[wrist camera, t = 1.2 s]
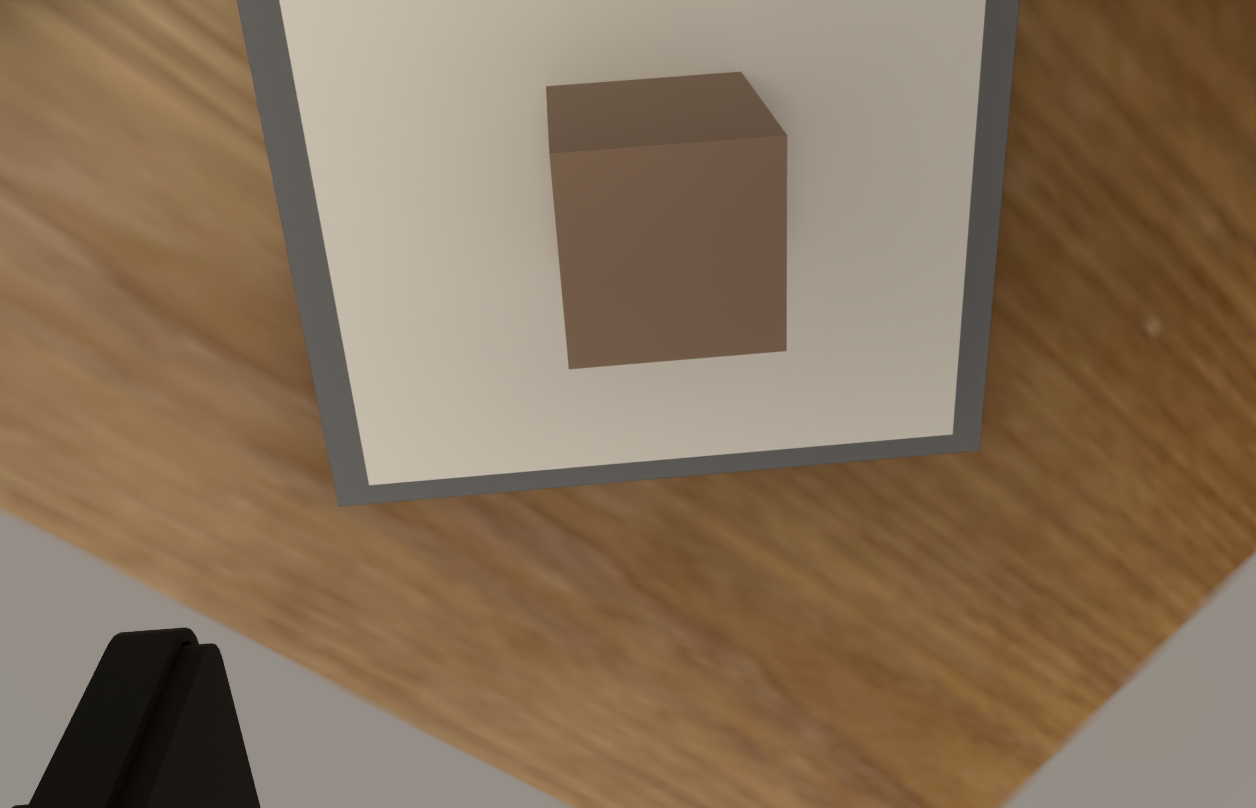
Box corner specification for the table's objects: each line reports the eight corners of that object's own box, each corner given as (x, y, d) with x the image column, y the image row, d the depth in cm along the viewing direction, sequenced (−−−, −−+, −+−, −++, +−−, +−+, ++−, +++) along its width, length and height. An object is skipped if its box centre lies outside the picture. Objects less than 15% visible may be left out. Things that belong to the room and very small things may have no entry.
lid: (988, -220, 23) (1118, -220, 18) (942, 419, 30) (1028, 552, 25) (256, -171, 23) (176, -157, 18) (373, 467, 29) (339, 615, 24)
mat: (1032, -281, 23) (1044, -283, 23) (971, 438, 31) (979, 450, 30) (198, -227, 23) (191, -227, 22) (342, 493, 30) (338, 506, 30)
